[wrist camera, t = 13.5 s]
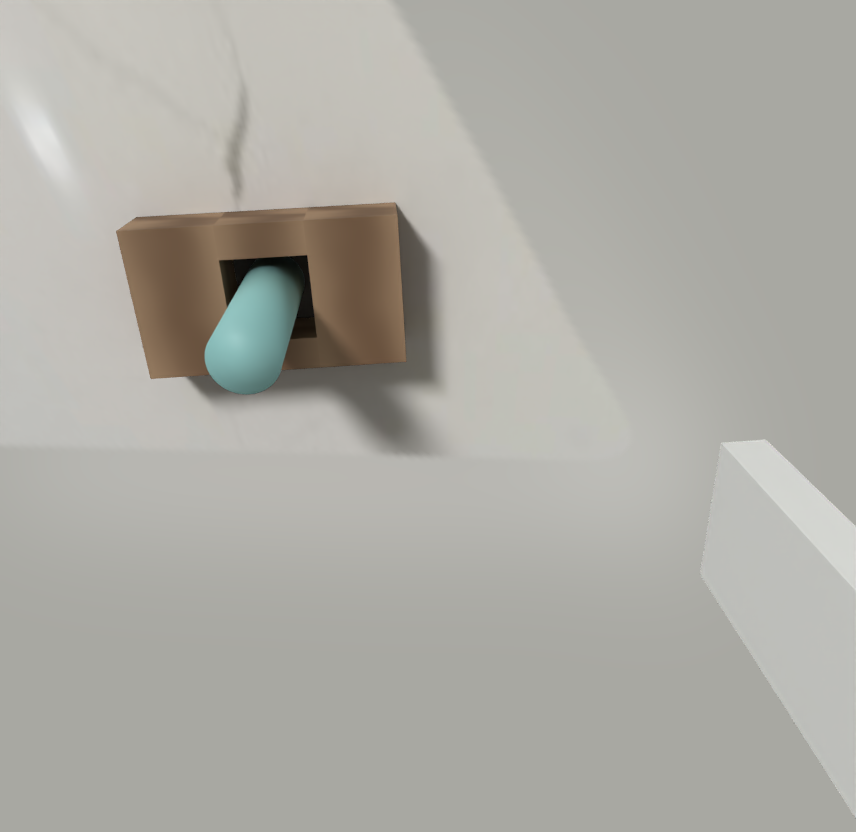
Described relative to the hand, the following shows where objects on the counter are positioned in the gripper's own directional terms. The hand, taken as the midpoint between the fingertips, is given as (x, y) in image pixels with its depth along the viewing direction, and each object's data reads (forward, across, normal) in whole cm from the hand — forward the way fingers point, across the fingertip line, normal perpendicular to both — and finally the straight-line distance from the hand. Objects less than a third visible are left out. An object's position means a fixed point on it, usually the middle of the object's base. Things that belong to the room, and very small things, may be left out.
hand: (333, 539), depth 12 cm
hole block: (+31, -5, -4) cm, 31 cm away
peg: (+31, -5, -4) cm, 31 cm away
